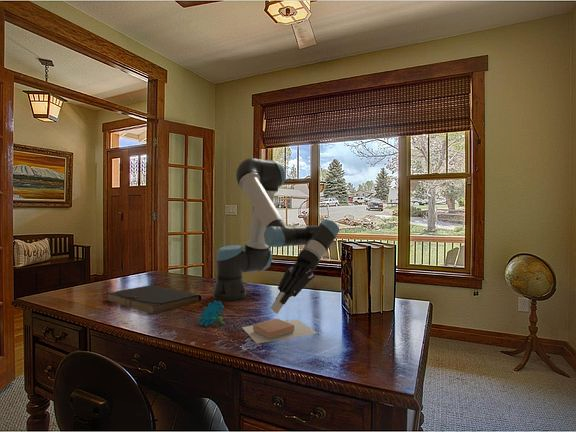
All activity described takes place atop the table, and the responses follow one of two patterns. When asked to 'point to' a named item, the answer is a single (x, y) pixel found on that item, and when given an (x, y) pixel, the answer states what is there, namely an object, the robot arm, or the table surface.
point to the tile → (273, 328)
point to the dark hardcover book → (152, 298)
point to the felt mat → (299, 330)
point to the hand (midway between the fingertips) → (273, 310)
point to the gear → (211, 314)
